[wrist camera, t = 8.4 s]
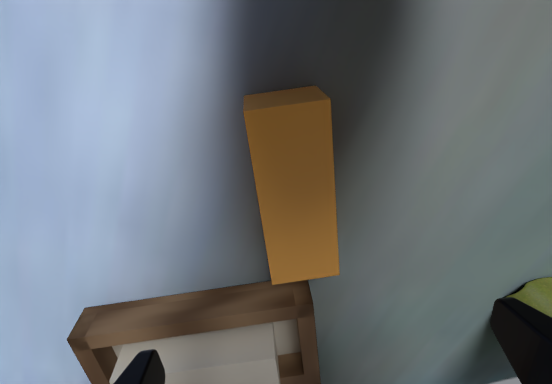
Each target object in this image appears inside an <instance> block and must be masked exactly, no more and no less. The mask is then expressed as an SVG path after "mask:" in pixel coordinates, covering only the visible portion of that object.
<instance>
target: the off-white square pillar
mask: <svg viewBox="0 0 552 384" xmlns="http://www.w3.org/2000/svg"><path fill="white" fill-rule="evenodd" d="M150 349H155V350H157V352H158V354H159V356H160V359H161V361H162V364H163V366H164V369H165V384H280V375H279V364H278V354H277V345H276V338H275V332H274V326H273V322H271V323H265V324H258V325H251V326H244V327H238V328H231V329H224V330H217V331H211V332H204V333H197V334H190V335H184V336H177V337H170V338H163V339H157V340H150V341H143V342H136V343H130V344H123V347H122V349H121V352H120V354H119V357H118V360H117V362H116V365H115V368H114V370H113V373H112V375H111V378H110V381H109V382H110V384H113V383H114V382H115V381H116V380H117V378H118V377H119V376H120V375H121V373H122V372H123V371H124V370H125V368H126V367H127V366H128V365H129V363H130V362H131V361H132V360H133V359H134V357H135V356H136V355H137V354H138V353H139V352H140V351H144V350H150Z"/></svg>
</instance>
